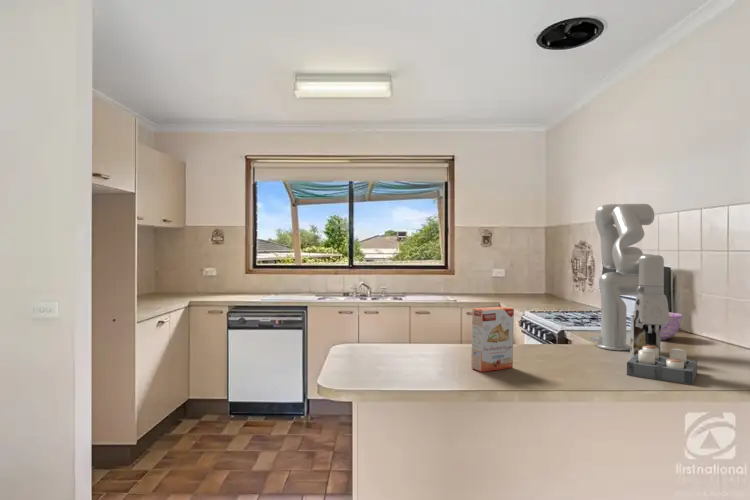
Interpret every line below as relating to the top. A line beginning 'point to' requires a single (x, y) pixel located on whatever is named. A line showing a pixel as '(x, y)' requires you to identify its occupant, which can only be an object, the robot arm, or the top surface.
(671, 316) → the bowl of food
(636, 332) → the coffee box
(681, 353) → the button far right
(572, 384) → the top surface
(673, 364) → the button near right
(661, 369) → the gray compartment tray
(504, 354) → the cracker box
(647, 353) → the button near left
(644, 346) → the button far left
